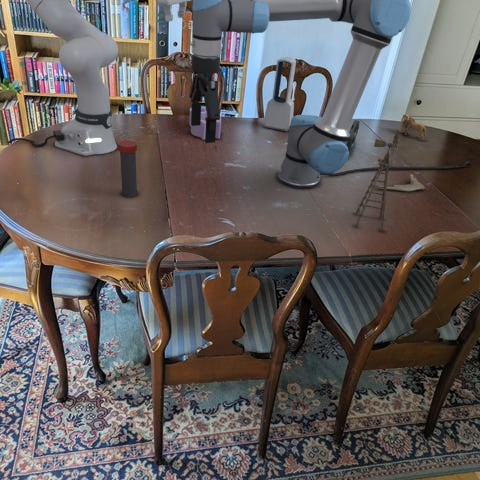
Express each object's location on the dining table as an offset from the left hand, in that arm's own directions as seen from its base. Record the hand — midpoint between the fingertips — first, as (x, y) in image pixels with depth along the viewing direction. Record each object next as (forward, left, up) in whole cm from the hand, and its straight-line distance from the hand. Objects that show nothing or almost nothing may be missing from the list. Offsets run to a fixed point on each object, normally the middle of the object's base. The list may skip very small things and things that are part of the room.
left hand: (175, 19), depth 144 cm
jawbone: (+80, +21, -48) cm, 95 cm away
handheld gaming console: (+60, +47, -48) cm, 90 cm away
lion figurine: (+86, +81, -48) cm, 128 cm away
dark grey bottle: (-3, -28, -48) cm, 56 cm away
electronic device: (+26, +58, -48) cm, 80 cm away
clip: (-2, +37, -48) cm, 61 cm away
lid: (-3, -28, -32) cm, 42 cm away
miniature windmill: (+71, -13, -48) cm, 87 cm away
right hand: (+19, -25, -25) cm, 40 cm away
